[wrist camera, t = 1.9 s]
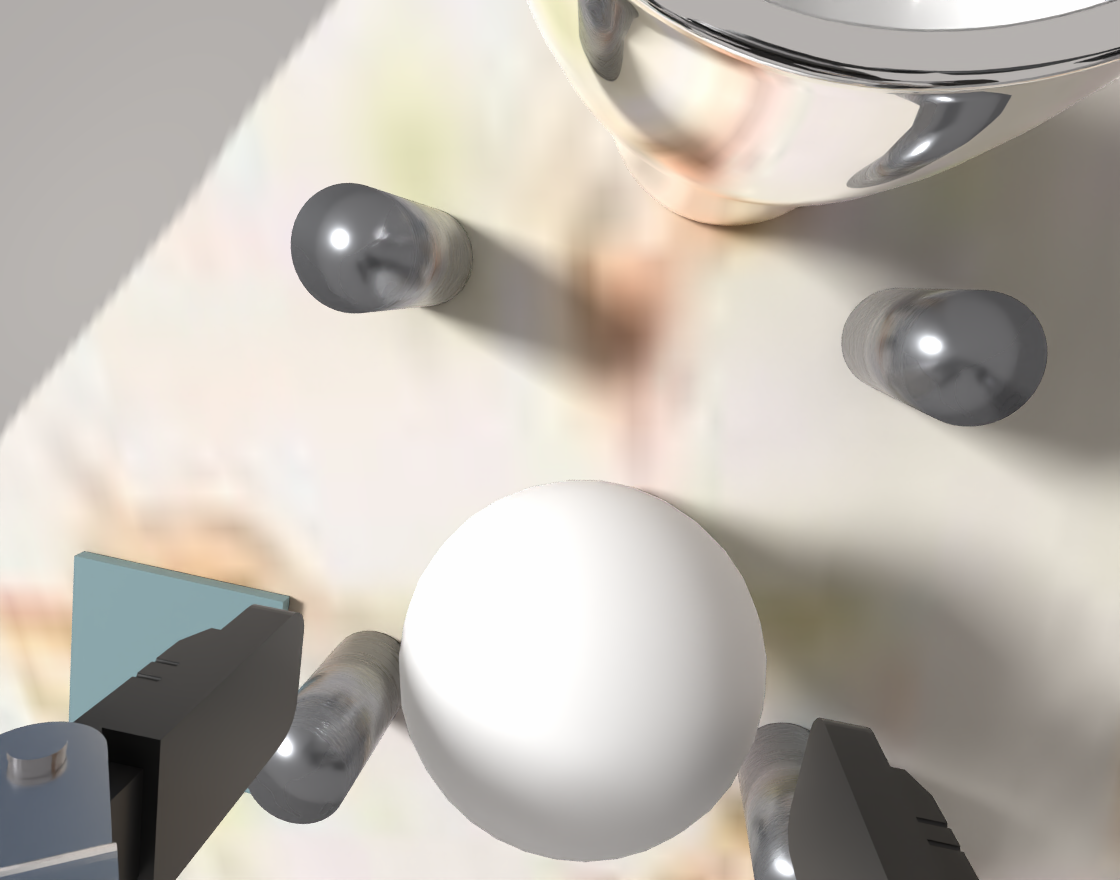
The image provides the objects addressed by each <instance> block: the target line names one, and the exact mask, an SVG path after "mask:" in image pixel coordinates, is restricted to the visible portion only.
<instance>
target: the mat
mask: <svg viewBox="0 0 1120 880" xmlns="http://www.w3.org/2000/svg"><path fill="white" fill-rule="evenodd" d="M289 598H290V596H285V595H281V594H276V593H271V592H267V591H262V590H258V589H253V588H249V587H244V586H240V585H235V584H231V583H226V582H221V581H217V580H212V579H208V578H203V577H199V576H194V575H190V574H185V573H181V572H176V571H172V570H167V569H162V568H158V567H153V566H149V565H144V564H140V563H135V562H131V561H126V560H122V559H117V558H112V557H108V556H103V555H99V554H94V553H90V552H85V551H84V552H82V553H80V554H77V555H75V556H74V584H73V614H72V644H71V674H70V704H69V722H74V721H75V720H77V719H78V718H79V717H80V716H82V715H83V714H84V713H86V712H87V711H88V710H89V709H91V708H92V707H93V706H95V705H96V704H97V703H99V702H100V701H101V700H102V699H104V698H105V697H106V696H108V695H109V694H110V693H112V692H113V691H114V690H115V689H117V688H118V687H119V686H121V685H122V684H123V683H125V682H126V681H127V680H128V679H130V678H131V677H132V676H133V677H136V676H137V672H139V671H140V670H141V669H143V668H144V667H145V666H147V665H148V664H149V663H150V662H155V661H156V658H157V657H158V656H160V655H161V654H162V653H163V652H165V651H166V650H167V649H169V648H170V647H171V646H173V645H174V644H175V643H176V642H178V641H179V640H181V639H184V638H187V637H189V636H192V635H194V634H197V633H199V632H202V631H205V630H207V629H210V628H215V629H220V630H221V629H222V628H223V627H225V626H226V625H227V624H228V623H230V622H231V621H232V620H233V619H234V618H236V617H237V616H238V615H239V614H240V613H242V612H243V611H244V610H245V609H247V608H248V607H249V606H251V605H253V604H258V605H263V606H268V607H273V608H278V609H283V610H288V608H289ZM245 792H246V793H250V791H249V789H248V788H247V789H246V790H245ZM250 794H251V793H250Z"/></svg>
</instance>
